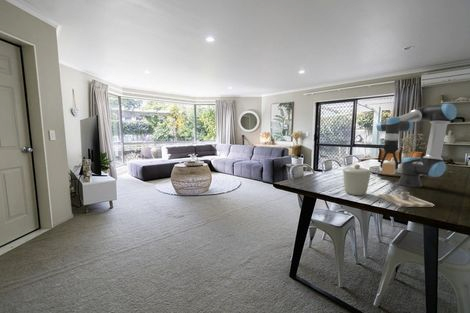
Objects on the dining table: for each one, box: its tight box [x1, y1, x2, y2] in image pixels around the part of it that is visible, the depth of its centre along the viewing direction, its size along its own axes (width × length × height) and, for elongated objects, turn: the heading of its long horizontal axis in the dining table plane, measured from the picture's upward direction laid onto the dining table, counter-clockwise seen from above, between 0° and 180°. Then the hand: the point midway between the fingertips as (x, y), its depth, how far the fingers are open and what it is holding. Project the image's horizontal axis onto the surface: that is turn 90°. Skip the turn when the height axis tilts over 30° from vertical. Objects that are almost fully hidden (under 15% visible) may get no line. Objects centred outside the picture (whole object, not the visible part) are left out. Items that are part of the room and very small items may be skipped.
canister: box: [342, 164, 373, 196], centre depth 156 cm, size 18×18×21 cm
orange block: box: [381, 162, 395, 176], centre depth 154 cm, size 8×6×7 cm
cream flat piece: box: [377, 191, 435, 208], centre depth 140 cm, size 20×20×6 cm
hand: (388, 172), depth 154 cm, fingers closed on orange block, 6 cm apart
